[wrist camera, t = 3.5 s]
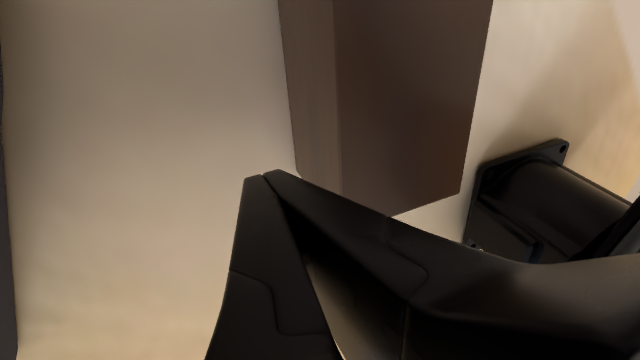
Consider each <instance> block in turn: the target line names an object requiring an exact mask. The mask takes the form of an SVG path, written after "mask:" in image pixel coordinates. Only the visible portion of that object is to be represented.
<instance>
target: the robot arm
mask: <svg viewBox="0 0 640 360" xmlns="http://www.w3.org/2000/svg"><path fill="white" fill-rule="evenodd" d="M568 148H569V142H567V141H565V140H563V139H557V140H554V141H551V142H548V143H545V144H542V145H539V146H535V147H532V148H529V149H526V150H523V151H520V152H517V153H514V154H511V155H508V156H505V157H502V158H499V159H496V160H493V161H490V162H487V163H484V164H482V165H481V166H480V167H479V169H478V170H477V173H476V178H475V183H474V188H473V193H472V198H471V203H470V208H469V213H468V218H467V223H466V228H465V233H464V238H463V243H462V244H460V243H457V242H454V241H451V240H448V239H445V238H443V237H440V236H437V235H434V234H431V233H428V232H426V231H423V230H420V229H418V228H415V227H413V226H410V225H408V224H406V223H403V222H401V221H398V220H396V219H394V218H391V217H387V216H386V215H384V214H382V213H380V212H377V211H375V210H373V209H370V208H368V207H366V206H363V205H361V204H359V203H356V202H354V201H352V200H350V199H347V198H345V197H343V196H340V195H338V194H336V193H333V192H331V191H329V190H326V189H324V188H322V187H320V186H317V185H315V184H313V183H310V182H308V181H306V180H303V179H301V178H299V177H296V176H294V175H292V174H289V173H287V172H285V171H283V170H280V169H276V170H273V171H269V172H266V173H264V174H263V176H262V175H260V174H258V175H255V176H251V177H247V178H245V179H244V183H243V189H242V195H241V201H240V207H239V213H238V219H237V225H236V231H235V237H234V243H233V248H232V254H231V260H230V266H229V273H228V277H227V283H226V288H225V293H224V297H223V302H222V307H221V310H220V313H219V317H218V320H217V323H216V326H215V330H214V333H213V336H212V338H211V341H210V344H209V347H208V350H207V353H206V356H205V359H204V360H344V359H343V358H342V356H341V354H340V352H339V350H338V348H337V346H336V343H337V345H338V347H339V348H340V350H341V352H342V354H343V355H344V357H345V359H346V360H640V196H639V197H638V198H637V199H636V200H635V202H634V203H631V202H629V201H627V200H625V199H624V198H622V197H620V196H618V195H616V194H614V193H613V192H611V191H609V190H607V189H605V188H603V187H602V186H600V185H598V184H596V183H594V182H592V181H591V180H589V179H587V178H585V177H583V176H581V175H580V174H578V173H576V172H574V171H572V170H570V169H569V168H567V167H565V166H563V162H564V159H565V156H566V153H567V150H568ZM479 249H482V250H483V251H482V250H479ZM331 334H332V335H331ZM333 338H334V339H333ZM334 340H335V341H336V343H335V341H334Z"/></svg>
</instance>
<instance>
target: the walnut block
mask: <svg viewBox="0 0 640 360" xmlns="http://www.w3.org/2000/svg"><path fill="white" fill-rule="evenodd" d="M492 5H493V0H278V7H279V16H280V25H281V34H282V43H283V52H284V61H285V70H286V79H287V87H288V96H289V105H290V114H291V123H292V132H293V141H294V150H295V159H296V168H297V172H298V173H299V175H300V176H301V177H302V179H303V180H306V181H308V182H310V183H313V184H315V185H317V186H320V187H322V188H324V189H326V190H329V191H331V192H333V193H336V194H338V195H340V196H343V197H345V198H347V199H350V200H352V201H354V202H356V203H359V204H361V205H363V206H366V207H368V208H370V209H373V210H375V211H377V212H380V213H382V214H384V215H386V216H387V217H393V216H395V215H398V214H401V213H404V212H407V211H410V210H413V209H416V208H418V207H421V206H424V205H427V204H430V203H433V202H436V201H439V200H441V199H444V198H447V197H450V196H453V195H456V194H458V193H459V191H460V186H461V180H462V175H463V169H464V163H465V158H466V152H467V146H468V141H469V135H470V129H471V124H472V118H473V112H474V107H475V101H476V95H477V90H478V84H479V78H480V73H481V67H482V61H483V56H484V50H485V44H486V39H487V33H488V27H489V22H490V16H491V11H492Z"/></svg>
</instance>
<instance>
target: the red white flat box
mask: <svg viewBox="0 0 640 360" xmlns="http://www.w3.org/2000/svg"><path fill="white" fill-rule="evenodd" d="M2 105H3V77H2V61H1V47H0V360H16V356H17V350H18V344H17V331H16V318H15V305H14V292H13V278H12V265H11V252H10V239H9V226H8V213H7V199H6V186H5V173H4V160H3V147H2V133H1V124H2Z"/></svg>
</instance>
